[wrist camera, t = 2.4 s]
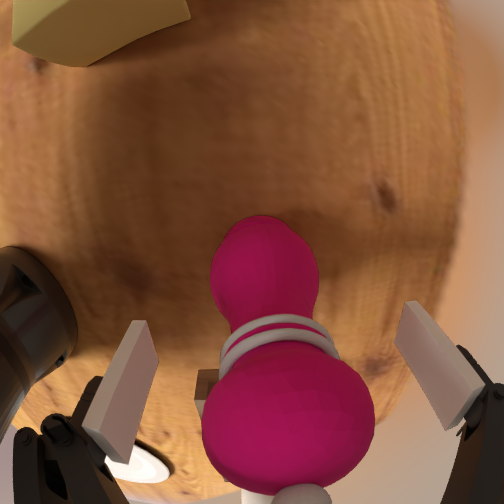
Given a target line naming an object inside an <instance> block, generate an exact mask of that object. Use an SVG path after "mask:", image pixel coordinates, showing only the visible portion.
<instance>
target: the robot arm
mask: <svg viewBox="0 0 504 504" xmlns="http://www.w3.org/2000/svg"><path fill="white" fill-rule="evenodd" d="M77 336H78V332H77V324H76V319H75V316H74V313H73V310H72V308H71V305H70V303H69V301H68V299H67V297H66V295H65V293H64V292H63V290H62V288H61V287H60V285H59V284H58V282H57V281H56V280H55V278H54V277H53V276H52V274H51V273H50V272H49V271H48V270H47V269H46V268H45V267H44V266H43V265H42V264H41V263H40V262H39V261H38V260H37V259H36V258H34V257H33V256H32V255H30V254H29V253H27V252H25V251H23V250H21V249H18V248H15V247H4V248H1V249H0V444H1V442H2V439H3V438H4V435H5V433H6V431H7V429H8V428H9V426H10V424H11V422H12V420H13V418H14V416H15V414H16V413H17V411H18V409H19V407H20V405H21V404H22V402H23V400H24V398H25V396H26V395H27V393H28V391H29V390H30V388H31V387H32V386H33V385H34V384H35V383H37V382H38V381H40V380H41V379H42V378H44V377H45V376H47V375H48V374H50V373H51V372H53V371H54V370H55V369H57V368H58V367H60V366H61V365H62V364H64V363H65V362H66V360H67V359H68V357H69V356H70V354H71V353H72V351H73V349H74V348H75V346H76V343H77ZM394 343H395V345H396V347H397V348H398V350H399V351H400V353H401V355H402V356H403V358H404V359H405V361H406V363H407V364H408V366H409V368H410V369H411V371H412V373H413V374H414V376H415V378H416V379H417V381H418V383H419V384H420V386H421V388H422V390H423V391H424V393H425V395H426V397H427V398H428V400H429V402H430V404H431V406H432V407H433V409H434V411H435V413H436V415H437V416H438V418H439V420H440V422H441V424H442V426H443V427H444V430H445V431H446V430H448V429H451V428H453V427H455V426H457V425H458V424H459V423H460V421H461V420H462V419H463V417H464V419H465V420H466V422H465V424H464V425H463V426H462V427H461V429H460V430H459V431H458V433H457V435H456V436H459V434H460V433H461V432H462V435H461V439H460V444H459V447H458V452H457V455H456V459H455V462H454V466H453V469H452V472H451V475H450V478H449V482H448V484H447V487H446V490H445V493H444V495H443V498H442V501H441V503H440V504H504V385H503V384H501V383H495V384H494V383H493V382H492V381H491V380H490V378H489V377H488V376H487V374H486V373H485V372H484V371H483V369H482V368H481V367H480V365H479V364H477V362H476V360H475V359H474V358H473V357H472V355H471V354H470V353H469V352H468V351H467V350H466V349H465V348H463V347H462V346H460V345H457V346H455V345H454V343H453V342H452V341H451V340H450V339H449V337H448V336H447V335H446V334H445V333H444V331H443V330H442V329H441V328H440V327H439V325H438V324H437V323H436V322H435V321H434V320H433V318H432V317H431V316H430V315H429V314H428V313H427V312H426V311H425V309H424V308H423V307H422V306H421V305H420V304H419V303H418V302H417V301H416V300H413V301H407V302H405V303H404V307H403V311H402V315H401V319H400V323H399V326H398V330H397V334H396V337H395V340H394ZM158 363H159V359H158V356H157V353H156V350H155V347H154V344H153V341H152V337H151V334H150V331H149V328H148V324H147V321H146V320H132V322H131V324H130V326H129V328H128V330H127V332H126V333H125V335H124V337H123V339H122V341H121V343H120V345H119V347H118V349H117V351H116V353H115V355H114V357H113V359H112V361H111V363H110V365H109V367H108V369H107V371H106V373H105V375H104V377H101V376H95V377H94V378H93V379H92V380H91V381H90V382H88V384H87V386H86V388H85V390H84V393H83V394H82V396H81V398H80V400H79V402H78V404H77V406H76V408H75V410H74V412H73V414H72V417H71V419H70V421H69V420H68V419H67V418H66V417H65V416H64V415H62V414H58V413H55V414H51V415H49V416H47V417H46V418H45V419H44V420H43V421H42V424H41V433H42V434H43V435H38V434H37V433H36V432H35V431H34V430H33V429H32V428H30V427H24V428H21V429H20V430H18V431H17V433H16V434H15V437H14V444H13V489H14V490H13V491H14V504H129V502H128V501H127V499H126V497H125V496H124V494H123V492H122V491H121V489H120V487H119V486H118V484H117V482H116V480H115V479H114V477H113V475H112V473H111V471H110V469H109V468H108V466H107V464H106V463H105V458H106V455H107V456H108V457H109V458H110V460H111V461H113V462H117V463H122V464H126V465H129V461H130V457H131V454H132V450H133V446H134V442H135V439H136V435H137V432H138V428H139V425H140V421H141V418H142V414H143V411H144V408H145V404H146V401H147V398H148V394H149V391H150V388H151V385H152V381H153V378H154V375H155V372H156V369H157V366H158Z"/></svg>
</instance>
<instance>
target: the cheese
mask: <svg viewBox="0 0 504 504" xmlns="http://www.w3.org/2000/svg"><path fill="white" fill-rule="evenodd" d="M190 19H191V14H190V11H189V8H188V5H187V2H186V0H13V19H12V45H14V46H16V47H17V48H19V49H21V50H23V51H25V52H27V53H29V54H31V55H33V56H35V57H37V58H40V59H43V60H46V61H49V62H53V63H57V64H60V65H65V66H70V67H86V66H88V65H90V64H92V63H93V62H95V61H97V60H99V59H101V58H103V57H105V56H106V55H108V54H110V53H112V52H114V51H115V50H117V49H119V48H121V47H123V46H125V45H127V44H129V43H131V42H133V41H135V40H137V39H139V38H141V37H143V36H145V35H148V34H150V33H153V32H155V31H158V30H160V29H163V28H166V27H169V26H172V25H175V24H178V23H181V22H184V21H187V20H190Z"/></svg>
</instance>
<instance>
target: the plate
mask: <svg viewBox="0 0 504 504" xmlns="http://www.w3.org/2000/svg"><path fill="white" fill-rule="evenodd" d="M69 421H70V420H69ZM105 463H106V464H107V466H108V468H109V469H110V471H111V473H112V475H113V477H116V478H119V479H123V480H127V481H132V482H139V483H156V482H162V481H164V480H166V479H168V477H169V475H170V472H169V469H168V467H167V466H166V465H165V464H164V463H163V462H162V461H161V460H160V459H159V458H157V457H156V456H154V455H153V454H151V453H150V452H148V451H147V450H145V449H143V448H141V447H139V446H138V445H136V444H134V446H133V450H132V454H131V457H130V461H129V465H126V464H122V463H117V462H113V461H111V460H110V458H109V457H108V456H107V455H106V458H105Z"/></svg>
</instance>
